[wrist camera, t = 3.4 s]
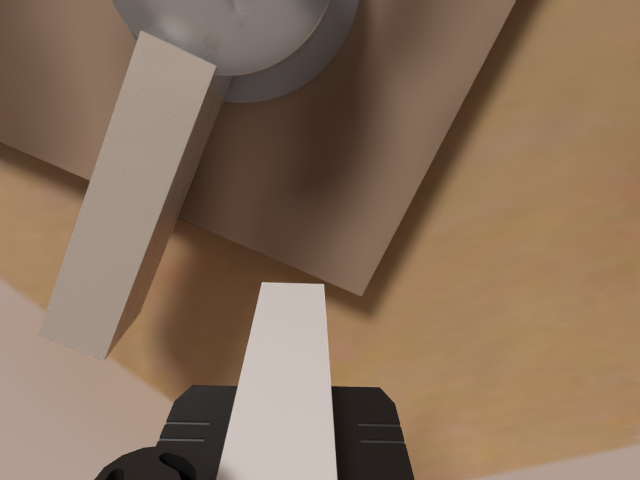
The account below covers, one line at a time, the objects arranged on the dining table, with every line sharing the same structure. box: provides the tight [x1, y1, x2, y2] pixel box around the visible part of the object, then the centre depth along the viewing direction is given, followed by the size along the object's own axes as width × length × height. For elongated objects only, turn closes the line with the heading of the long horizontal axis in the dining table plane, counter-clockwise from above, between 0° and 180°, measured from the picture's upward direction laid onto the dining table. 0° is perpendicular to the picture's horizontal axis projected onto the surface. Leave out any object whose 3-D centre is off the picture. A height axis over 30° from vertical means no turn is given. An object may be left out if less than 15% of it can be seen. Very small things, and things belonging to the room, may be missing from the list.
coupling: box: [39, 0, 331, 360], centre depth 18 cm, size 18×7×4 cm, turn 155°
